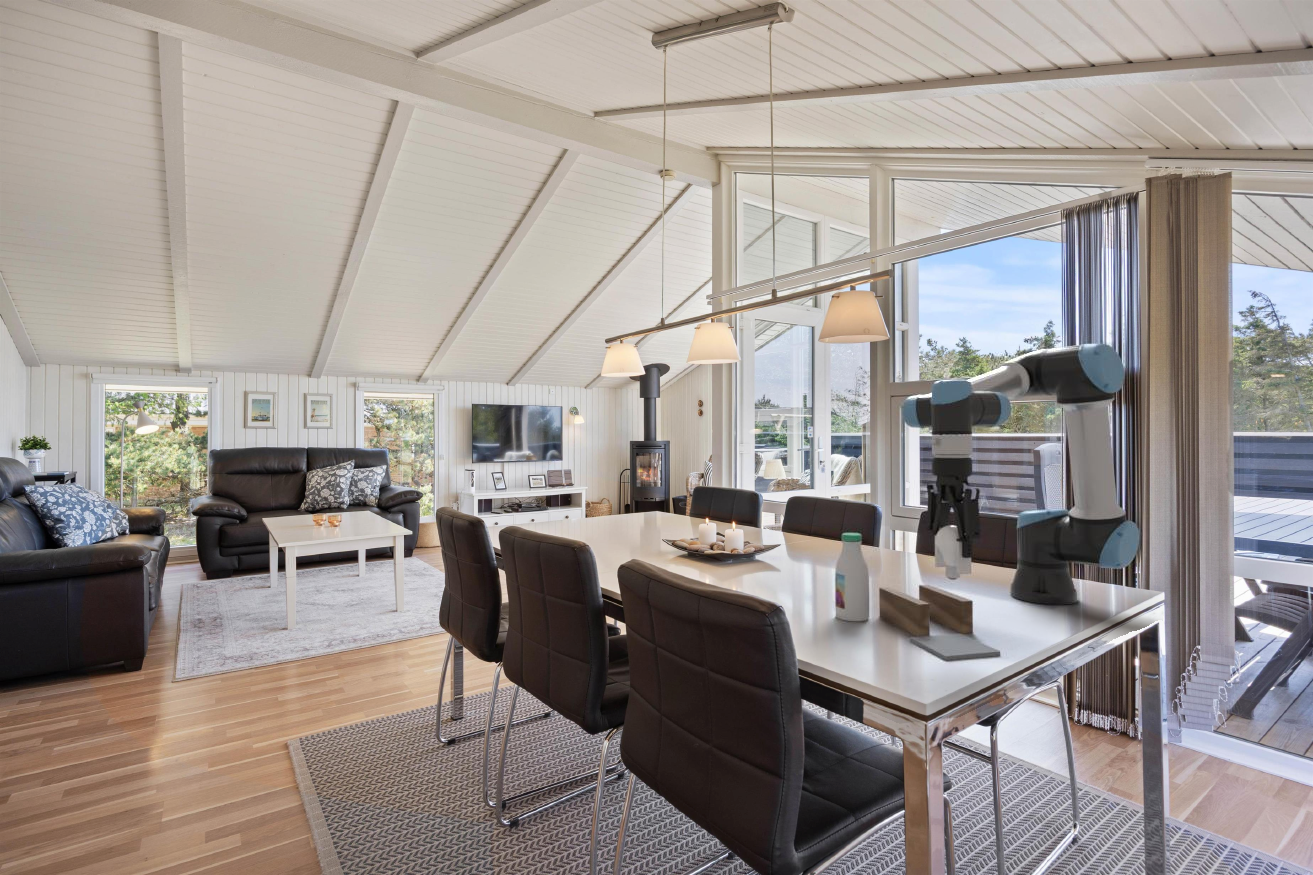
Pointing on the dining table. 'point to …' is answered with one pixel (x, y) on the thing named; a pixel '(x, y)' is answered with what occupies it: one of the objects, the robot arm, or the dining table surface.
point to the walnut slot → (926, 610)
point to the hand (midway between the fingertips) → (952, 569)
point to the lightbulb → (948, 549)
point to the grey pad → (954, 646)
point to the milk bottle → (852, 581)
